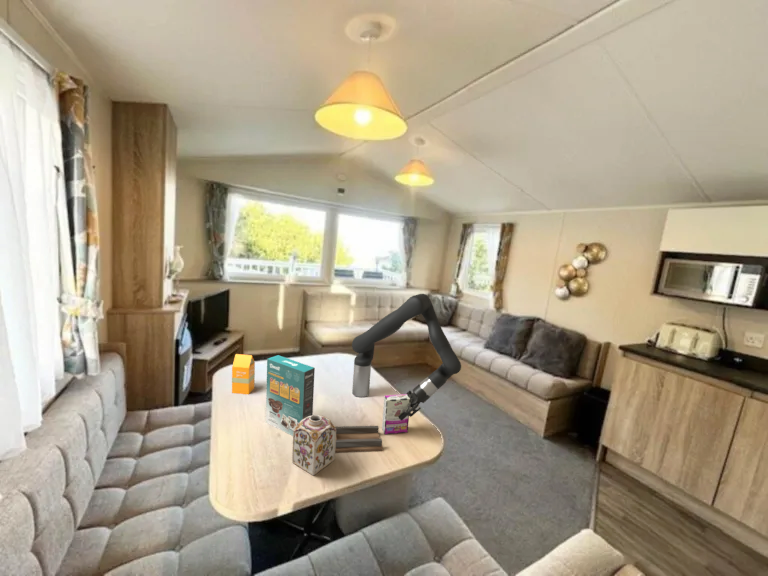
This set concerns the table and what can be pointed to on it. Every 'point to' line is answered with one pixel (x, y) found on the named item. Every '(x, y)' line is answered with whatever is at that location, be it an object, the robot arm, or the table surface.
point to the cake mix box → (288, 393)
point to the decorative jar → (314, 443)
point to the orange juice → (243, 374)
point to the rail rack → (357, 439)
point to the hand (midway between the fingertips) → (398, 414)
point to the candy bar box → (395, 414)
